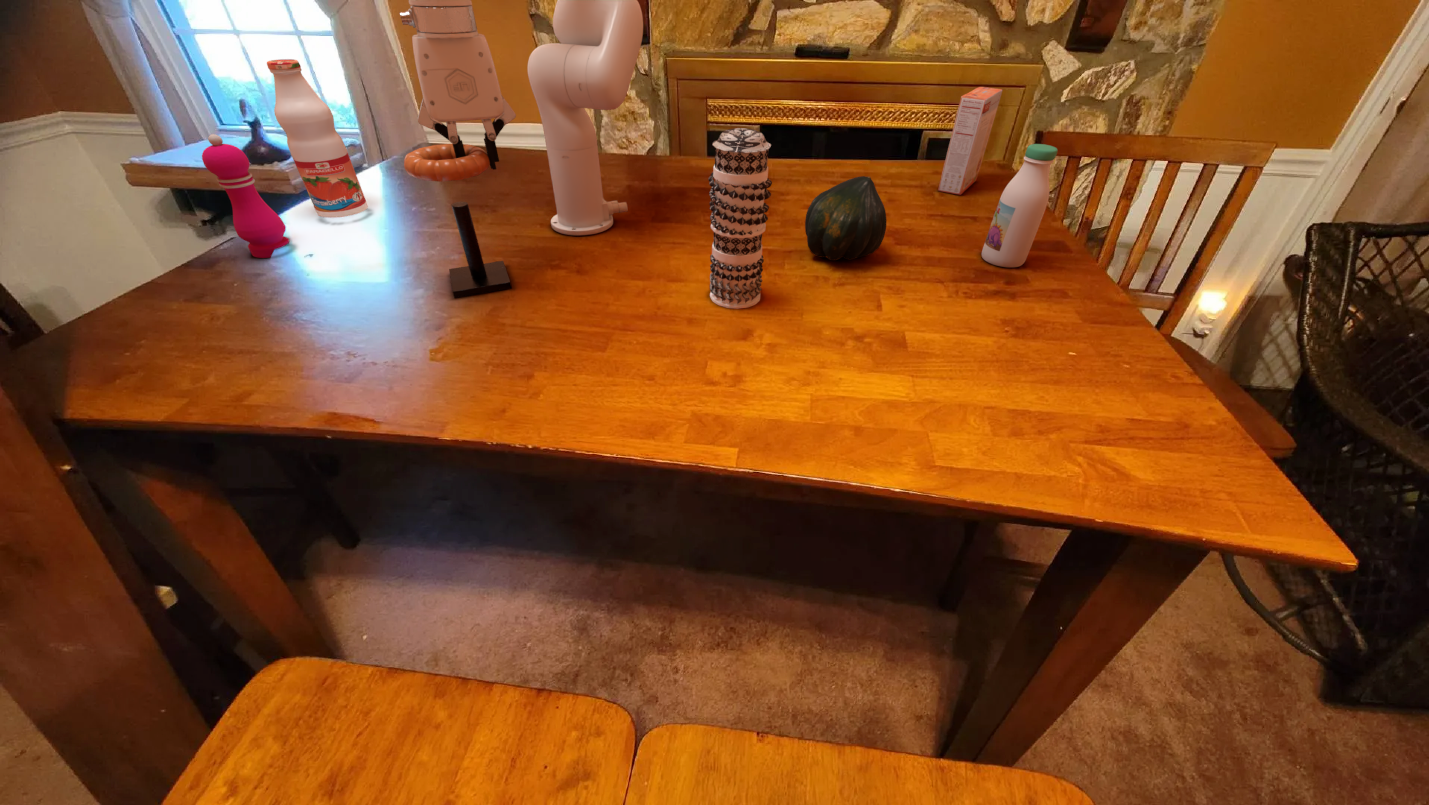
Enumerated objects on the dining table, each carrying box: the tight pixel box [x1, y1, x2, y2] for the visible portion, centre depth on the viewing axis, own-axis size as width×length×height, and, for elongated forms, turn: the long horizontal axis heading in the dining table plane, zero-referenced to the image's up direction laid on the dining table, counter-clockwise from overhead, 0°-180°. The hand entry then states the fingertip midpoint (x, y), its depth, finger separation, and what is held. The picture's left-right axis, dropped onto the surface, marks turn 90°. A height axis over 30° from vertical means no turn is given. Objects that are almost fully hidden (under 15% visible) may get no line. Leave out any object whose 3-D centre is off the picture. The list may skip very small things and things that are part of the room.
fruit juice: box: [266, 58, 369, 219], centre depth 108 cm, size 9×9×28 cm
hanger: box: [448, 201, 512, 299], centre depth 90 cm, size 9×9×13 cm
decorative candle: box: [708, 127, 773, 310], centre depth 84 cm, size 9×9×25 cm
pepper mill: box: [201, 133, 290, 259], centre depth 96 cm, size 7×7×20 cm
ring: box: [403, 143, 490, 183], centre depth 82 cm, size 12×12×3 cm
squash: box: [804, 175, 888, 261], centre depth 101 cm, size 14×15×15 cm
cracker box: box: [937, 86, 1003, 196], centre depth 131 cm, size 14×6×21 cm, turn 144°
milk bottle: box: [980, 143, 1059, 268], centre depth 98 cm, size 8×8×20 cm
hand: (479, 167), depth 84 cm, fingers closed on ring, 3 cm apart
